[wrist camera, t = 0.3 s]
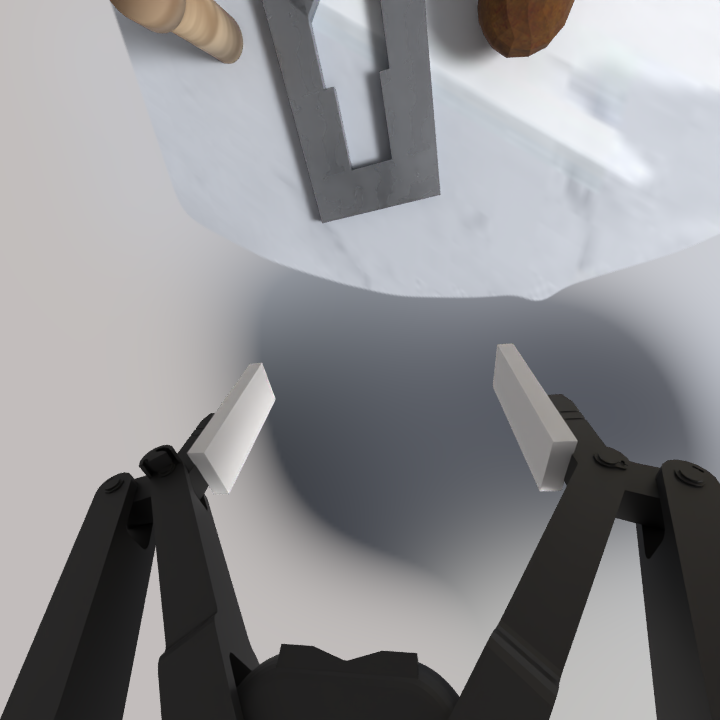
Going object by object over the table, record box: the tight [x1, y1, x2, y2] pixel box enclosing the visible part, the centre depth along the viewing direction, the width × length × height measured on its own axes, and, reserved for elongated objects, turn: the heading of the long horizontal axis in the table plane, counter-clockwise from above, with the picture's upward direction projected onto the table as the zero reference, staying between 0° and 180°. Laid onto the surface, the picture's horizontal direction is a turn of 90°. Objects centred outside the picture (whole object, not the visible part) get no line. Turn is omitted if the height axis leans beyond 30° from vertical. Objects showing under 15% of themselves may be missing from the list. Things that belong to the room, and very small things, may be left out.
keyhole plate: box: [262, 0, 440, 223], centre depth 31 cm, size 22×14×2 cm, turn 13°
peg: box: [110, 0, 243, 64], centre depth 25 cm, size 5×5×13 cm
